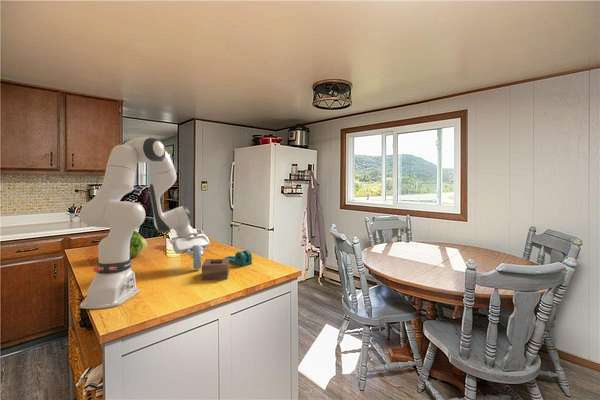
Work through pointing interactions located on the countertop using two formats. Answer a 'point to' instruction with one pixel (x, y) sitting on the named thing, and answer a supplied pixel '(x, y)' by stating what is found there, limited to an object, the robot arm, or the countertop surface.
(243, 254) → the teal elongated piece
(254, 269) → the countertop surface
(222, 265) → the brown toaster
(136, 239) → the lettuce
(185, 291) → the countertop surface
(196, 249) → the blue dowel
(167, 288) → the countertop surface
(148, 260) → the countertop surface
